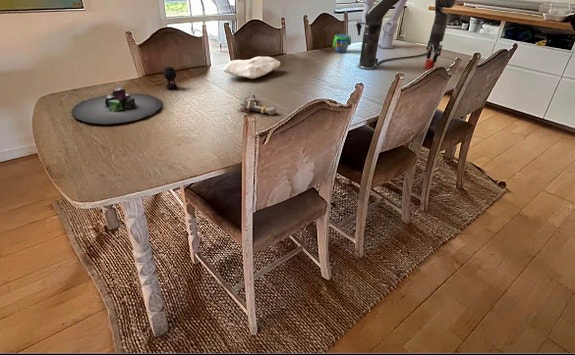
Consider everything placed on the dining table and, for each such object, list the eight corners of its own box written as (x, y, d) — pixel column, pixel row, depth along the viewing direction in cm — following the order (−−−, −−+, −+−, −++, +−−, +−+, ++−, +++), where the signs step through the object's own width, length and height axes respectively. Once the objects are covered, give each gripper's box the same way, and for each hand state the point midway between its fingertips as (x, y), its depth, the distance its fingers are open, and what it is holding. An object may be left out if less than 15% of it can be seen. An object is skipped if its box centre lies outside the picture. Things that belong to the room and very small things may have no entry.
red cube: (423, 68, 222) (424, 60, 219) (427, 66, 225) (429, 58, 222) (430, 69, 219) (432, 61, 216) (434, 68, 222) (436, 60, 219)
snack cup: (344, 48, 256) (346, 33, 251) (354, 52, 249) (356, 36, 243) (327, 50, 249) (328, 35, 243) (337, 54, 241) (338, 38, 236)
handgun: (275, 94, 165) (242, 93, 164) (275, 109, 150) (239, 108, 149) (275, 100, 167) (242, 99, 166) (275, 115, 152) (239, 114, 151)
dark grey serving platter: (174, 113, 149) (170, 91, 144) (79, 131, 131) (72, 107, 127) (148, 93, 173) (144, 73, 169) (65, 106, 156) (59, 85, 151)
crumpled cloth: (210, 71, 195) (210, 54, 190) (264, 61, 214) (265, 46, 208) (233, 90, 182) (233, 73, 176) (288, 78, 201) (290, 62, 195)
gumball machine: (165, 90, 172) (162, 69, 166) (163, 86, 176) (159, 65, 171) (180, 88, 175) (177, 67, 169) (177, 85, 179) (174, 64, 174)
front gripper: (449, 34, 205) (442, 63, 213) (438, 29, 217) (432, 57, 225) (436, 34, 204) (429, 63, 213) (426, 29, 216) (420, 57, 225)
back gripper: (358, 15, 245) (356, 36, 252) (379, 15, 248) (375, 36, 255) (355, 13, 251) (352, 34, 258) (375, 13, 253) (371, 34, 261)
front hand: (431, 60), depth 219 cm, fingers open, 8 cm apart
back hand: (363, 35), depth 257 cm, fingers open, 7 cm apart
